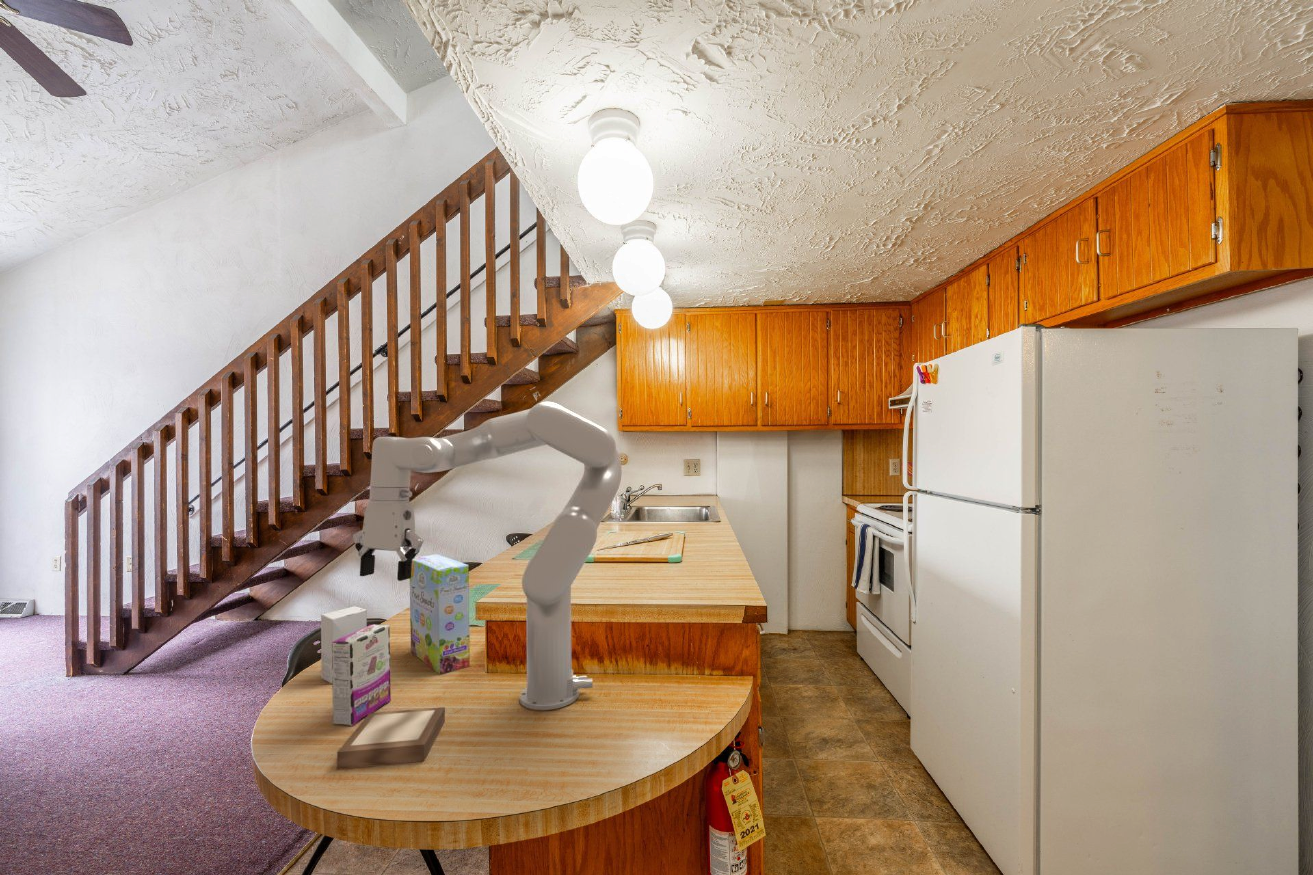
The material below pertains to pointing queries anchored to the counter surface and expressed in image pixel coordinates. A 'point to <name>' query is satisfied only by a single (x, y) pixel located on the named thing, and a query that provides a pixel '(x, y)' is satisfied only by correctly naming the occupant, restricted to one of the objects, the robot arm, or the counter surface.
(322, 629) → the skincare box
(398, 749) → the base
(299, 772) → the counter surface
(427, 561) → the snack box
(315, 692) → the counter surface
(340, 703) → the candy bar box
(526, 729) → the counter surface
